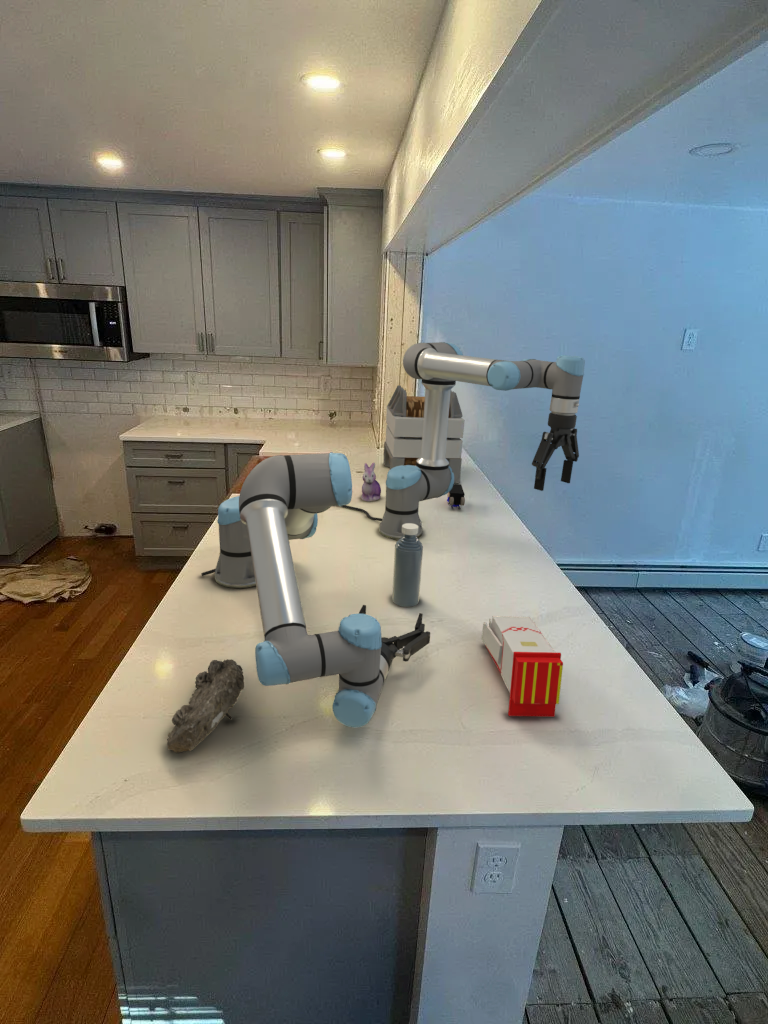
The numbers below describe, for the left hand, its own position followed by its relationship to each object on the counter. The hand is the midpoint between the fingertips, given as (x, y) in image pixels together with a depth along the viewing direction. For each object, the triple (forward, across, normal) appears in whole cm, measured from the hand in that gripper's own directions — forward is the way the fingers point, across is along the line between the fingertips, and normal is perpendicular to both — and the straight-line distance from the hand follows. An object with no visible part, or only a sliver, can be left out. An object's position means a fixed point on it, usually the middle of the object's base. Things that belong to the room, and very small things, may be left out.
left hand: (392, 614), depth 134 cm
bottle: (+20, 0, -7) cm, 21 cm away
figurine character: (+104, +5, -6) cm, 104 cm away
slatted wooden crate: (+147, -17, -6) cm, 148 cm away
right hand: (+49, +37, +21) cm, 65 cm away
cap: (+20, 0, +15) cm, 25 cm away
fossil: (-36, -27, -7) cm, 46 cm away
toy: (-7, +29, -7) cm, 31 cm away
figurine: (+101, -30, -6) cm, 106 cm away
